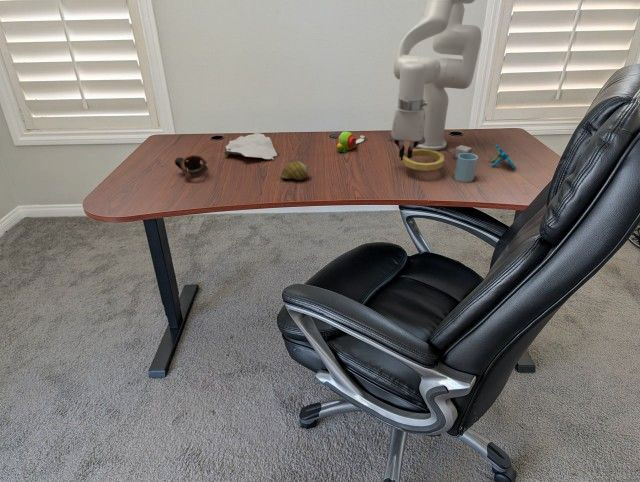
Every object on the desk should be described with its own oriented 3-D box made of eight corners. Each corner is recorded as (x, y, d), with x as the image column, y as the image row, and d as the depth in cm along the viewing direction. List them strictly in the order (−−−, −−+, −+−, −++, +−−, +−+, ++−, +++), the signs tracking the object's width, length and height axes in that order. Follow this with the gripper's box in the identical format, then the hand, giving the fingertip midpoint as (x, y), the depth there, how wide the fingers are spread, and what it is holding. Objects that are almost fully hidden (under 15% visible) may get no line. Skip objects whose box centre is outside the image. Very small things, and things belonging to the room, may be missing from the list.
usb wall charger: (465, 161, 152) (467, 150, 150) (447, 156, 156) (449, 146, 154) (470, 158, 154) (472, 147, 152) (453, 153, 158) (454, 143, 156)
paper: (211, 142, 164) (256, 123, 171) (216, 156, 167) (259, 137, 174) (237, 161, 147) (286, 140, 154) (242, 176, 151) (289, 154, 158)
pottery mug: (214, 171, 148) (211, 156, 141) (203, 192, 144) (199, 178, 136) (182, 160, 149) (177, 145, 141) (169, 181, 144) (164, 166, 137)
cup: (450, 178, 140) (454, 156, 136) (460, 172, 143) (464, 151, 139) (467, 183, 136) (471, 161, 132) (477, 178, 139) (481, 156, 135)
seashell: (284, 191, 142) (283, 181, 135) (277, 173, 144) (276, 162, 136) (311, 182, 144) (312, 171, 136) (304, 164, 146) (304, 153, 138)
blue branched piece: (520, 169, 141) (501, 146, 139) (504, 180, 143) (485, 158, 142) (513, 161, 151) (495, 139, 149) (498, 171, 153) (481, 151, 151)
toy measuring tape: (330, 152, 161) (330, 135, 158) (357, 137, 175) (357, 121, 171) (345, 155, 158) (345, 138, 155) (370, 140, 171) (371, 124, 168)
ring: (400, 168, 138) (400, 162, 137) (405, 152, 148) (406, 147, 147) (442, 172, 135) (442, 166, 134) (444, 156, 145) (445, 150, 144)
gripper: (436, 102, 133) (429, 157, 144) (387, 99, 137) (384, 153, 148) (434, 109, 128) (427, 166, 138) (383, 106, 132) (380, 161, 142)
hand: (405, 159), depth 143 cm, fingers closed on ring, 1 cm apart
